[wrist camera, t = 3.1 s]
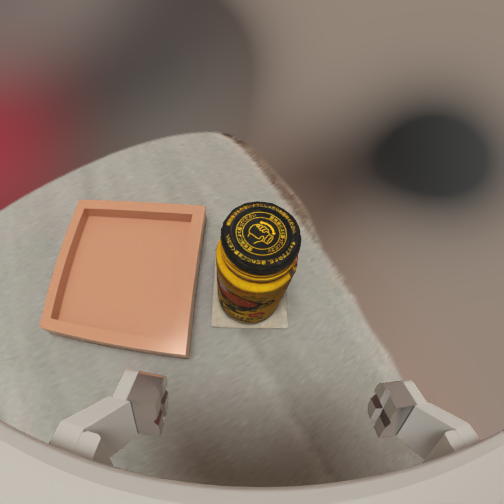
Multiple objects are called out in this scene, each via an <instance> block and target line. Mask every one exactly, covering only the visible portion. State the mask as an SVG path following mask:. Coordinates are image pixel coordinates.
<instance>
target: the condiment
mask: <svg viewBox="0 0 504 504" xmlns="http://www.w3.org/2000/svg"><path fill="white" fill-rule="evenodd" d="M300 246H301V235H300V229H299V226H298V224H297V222H296V220H295V219H294V217H293V216H292V215H290V214H289V213H288V212H287V211H285V210H284V209H282V208H280V207H278V206H277V205H275V204H272V203H267V202H258V201H257V202H250V203H245V204H243V205H241V206H239V207H237V208H235V209H233V210H232V212H231V213H230V214H229V215H228V216H227V218H226V220H225V221H224V222H223V226H222V228H221V238H220V241H219V243H218V245H217V248H216V253H215V270H214V286H213V305H212V325H211V327H230V328H288V324H287V303H286V289H287V287H288V285H289V283H290V281H291V279H292V277H293V275H294V273H295V272H296V268H297V261H298V253H299V250H300Z"/></svg>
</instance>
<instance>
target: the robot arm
mask: <svg viewBox="0 0 504 504" xmlns="http://www.w3.org/2000/svg"><path fill="white" fill-rule="evenodd" d="M166 386H167V378H166V376H162V375H157V374H151V373H146V372H141V371H135V370H131V369H127V370H125V371H124V373H123V375H122V378H121V380H120V382H119V384H118V386H117V388H116V390H115V392H114V394H113V396H112V397H110V396H108V397H106V398H104V399H102V400H100V401H99V402H97V403H95V404H93V405H91V406H89V407H87V408H85V409H83V410H82V411H80V412H78V413H76V414H74V415H72V416H70V417H68V418H66V419H64V420H62V421H61V423H60V424H59V426H58V428H57V430H56V431H55V433H54V435H53V437H52V439H51V441H50V442H49V444H48V443H45V442H43V441H41V440H39V439H37V438H34V437H32V436H30V435H28V434H26V433H24V432H22V431H20V430H18V429H16V428H14V427H12V426H11V425H9V424H7V423H5V422H3V421H1V420H0V504H504V430H502V431H500V432H498V433H496V434H494V435H492V436H490V437H488V438H486V439H483V440H480V439H479V438H478V436H477V435H476V433H475V432H474V430H473V429H472V427H471V426H470V424H469V423H467V422H465V421H463V420H461V419H459V418H457V417H455V416H453V415H452V414H450V413H448V412H446V411H444V410H442V409H441V408H439V407H437V406H435V405H433V404H431V403H427V402H426V401H425V399H424V398H423V396H422V394H421V393H420V392H419V390H418V389H417V387H416V386H415V384H414V383H413V381H411V380H402V381H395V382H386V383H379V384H378V385H377V386H376V388H375V393H376V394H375V395H374V396H373V397H372V398H371V399H370V401H369V404H368V415H369V417H370V419H371V420H372V421H374V422H375V425H374V429H375V431H376V433H377V435H378V437H379V438H383V437H390V436H396V437H397V438H399V439H400V440H401V441H402V442H403V443H405V444H406V445H407V446H408V447H409V448H411V449H412V450H413V451H414V452H416V453H417V454H418V455H419V456H421V457H422V458H423V459H424V460H423V461H422V463H421V464H418V465H414V466H411V467H407V468H403V469H400V470H396V471H392V472H388V473H383V474H379V475H374V476H369V477H364V478H359V479H353V480H347V481H340V482H333V483H325V484H315V485H304V486H287V487H237V486H220V485H208V484H199V483H191V482H183V481H177V480H170V479H165V478H159V477H154V476H149V475H144V474H140V473H136V472H131V471H127V470H123V469H120V468H116V467H114V466H113V464H112V462H111V460H110V457H111V456H112V455H114V454H115V453H116V452H117V451H119V450H120V449H121V448H122V447H123V446H125V445H126V444H127V443H128V442H129V441H131V440H132V439H133V438H134V437H136V436H137V435H138V433H140V434H146V435H151V436H157V437H161V433H162V429H163V425H164V422H163V417H164V416H166V413H167V408H168V392H167V391H166Z"/></svg>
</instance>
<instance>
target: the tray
mask: <svg viewBox="0 0 504 504" xmlns="http://www.w3.org/2000/svg"><path fill="white" fill-rule="evenodd" d="M205 225H206V207H205V206H198V205H183V204H167V203H149V202H128V201H102V200H79V202H78V205H77V207H76V210H75V212H74V215H73V217H72V220H71V222H70V225H69V227H68V230H67V233H66V236H65V238H64V241H63V244H62V247H61V250H60V253H59V256H58V259H57V262H56V265H55V268H54V272H53V275H52V279H51V282H50V286H49V289H48V293H47V297H46V301H45V305H44V309H43V313H42V318H41V322H40V328H42V329H44V330H46V331H48V332H50V333H52V334H55V335H59V336H63V337H67V338H72V339H76V340H80V341H85V342H89V343H94V344H98V345H103V346H108V347H114V348H119V349H124V350H130V351H136V352H142V353H149V354H155V355H162V356H169V357H177V358H186V359H189V352H190V342H191V332H192V323H193V314H194V306H195V297H196V289H197V281H198V274H199V266H200V259H201V252H202V245H203V238H204V231H205Z"/></svg>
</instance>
